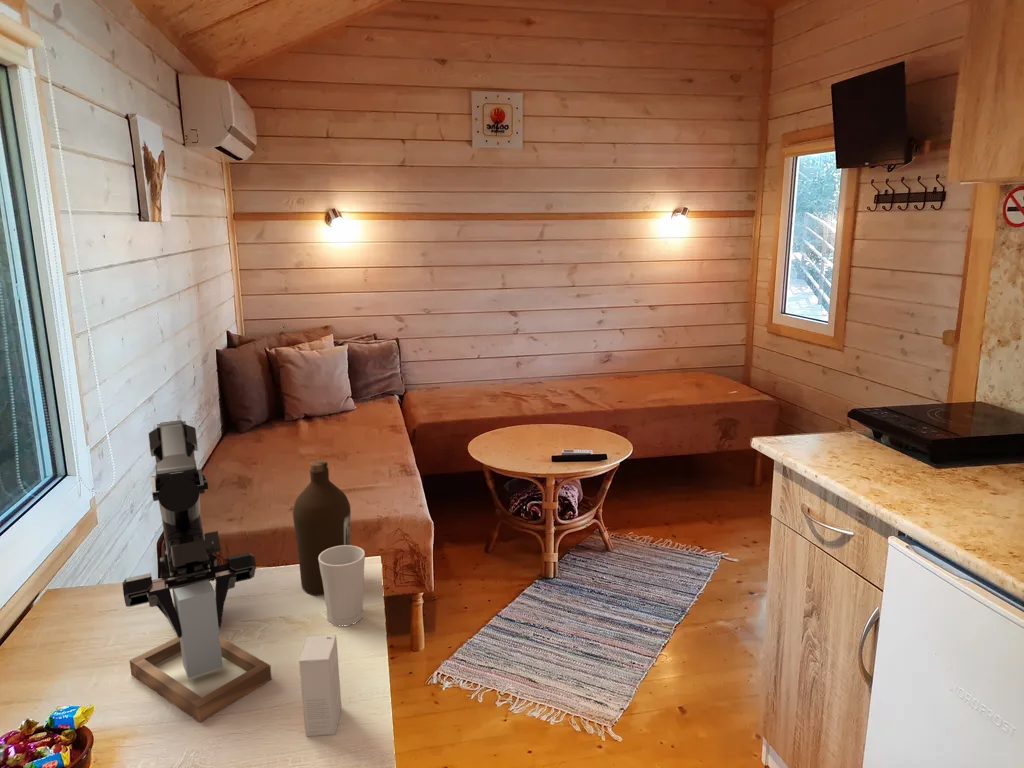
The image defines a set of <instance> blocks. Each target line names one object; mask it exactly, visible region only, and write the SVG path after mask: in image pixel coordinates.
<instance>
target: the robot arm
mask: <svg viewBox="0 0 1024 768" xmlns="http://www.w3.org/2000/svg"><path fill="white" fill-rule="evenodd" d="M148 442H149V452H150V455H151V457H155V475H152V476H151V493H152V500H153V502H157V501H158V505H159V509H160V510H159V511H160V515H161V521H162V528H163V529H162V530H163V536H164V539H163V544H162V547H163V556H162V557H159V564H160V572H161V573H160V574H161V578H155V579H153V578H152V572H149V573H145V574H144V573H143V574H140V575H135V576H134V575H133V576H131V577H130V576H129V577H126V578H125V579H124V580H123V581H122V594H123V600H124V603H125V607H129V608H130V607H135V606H140V605H143V604H147V603H148V604H149V607H150V608H153V607H157V608H158V609H159V611H160V612H161V613H162V614H163V615H164V617H165V618H166V620H167V621H168V623H169V625H170V626H171V628H172V630H173V631H174V633H175V635H176V637H178V638H181V630H180V624H179V621H178V618H177V612H176V604H175V596H174V589H176V588H180V587H184V586H187V585H191V584H195V583H199V582H202V581H206V580H209V581H210V582H215V586H214V591H215V599H216V608H217V617H218V626H219V629H221V627H222V622H223V621H222V620H223V615H224V614H223V613H224V607H225V606H224V605H225V602H226V598H227V595H228V592H229V590H230V589H234V588H235V587H236V583H238V582H244V581H248V580H251V579H253V578H254V577H255V573H256V569H257V563H256V559H255V556H254V554H253V553H252V552H250V551H248V552H242V553H238V554H233V555H228V556H227V557H226V563H225V564H220V565H219V564H218V563H217V562H218V561H217V554H214V553H218V552H221V549H222V548H221V543H220V542H221V541H220V537H219V531H218V530H217V531H215V530H214V531H211V532H204V526H203V525H204V524H203V521H202V515H201V495H202V494H205V493H206V492H205V490H209V485H208V484H209V483H208V479H207V475H206V474H205V473H204V471H203V469H202V468H201V469H200V468H199V469H198V468H197V461H196V458H195V452H197V451H199V448H198V437H197V428H196V427H193V426H192V425H188V424H187V423H186V420H184V421H183V420H182V419H181V420H174V421H172V420H171V421H170V420H169V421H163V422H160V423H156V428H155V429H153V430H152V431H150V432H148ZM171 590H172V594H171Z"/></svg>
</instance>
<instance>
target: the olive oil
mask: <svg viewBox="0 0 1024 768" xmlns="http://www.w3.org/2000/svg"><path fill="white" fill-rule="evenodd" d="M309 465H310V469H309V475H310V482H309V484H307V485H306V487H305V488H304V489H303V490H302V491H301V493H299V495H298V497H297V498H296V499H295V502H294V505H293V510H292V519H293V526H294V533H295V539H296V549H297V557H298V563H299V573H300V581H301V582H300V583H301V588H302V590H303V591H304V592H305V593H307V594H310V595H312V596H313V595H314V596H325V595H324V588H323V581H322V576H321V572H320V566H319V560H318V557H319V555H320V554H321V553H322V552H323V551H324V550H326V549H329V548H332V547H335V546H341V545H352V544H351V543H352V542H351V514H352V513H351V510H352V509H351V505H350V502H349V501H350V500H349V499H348V496H347V495H346V494H345V492H344V491H343V490H342V489H340V488H339V487H338V486H336V485H335V484H334V483H333V482H332V481H330V478H329V475H330V474H329V473H330V472H329V468H328V461H327V460H323V459H316V460H313V461H311V462H310V463H309Z"/></svg>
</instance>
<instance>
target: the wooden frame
mask: <svg viewBox="0 0 1024 768" xmlns="http://www.w3.org/2000/svg"><path fill="white" fill-rule="evenodd" d="M220 645H221V654H222V663H223V667H221V668H218V669H215V670H212V671H209V672H206V673H203V674H200V675H197V676H194V677H191V678H188V677H187V674H186V671H185V669H184V666H183V661H182V652H181V644H180V638H178V637H177V636H176V637H174V638H172V639H170V640H168V641H166V642H164V643H162V644H160V645H158V646H156V647H154V648H151V649H150V650H148V651H146V652H143V653H142V654H140V655H137V656H135V657H133V658H131V659H130V660H129V667H130V675H131V676H133V677H135V678H136V679H137V680H139V681H140V682H142V683H143V684H144V685H146V686H147V687H149V688H150V689H151V690H153V691H154V692H155V693H157V694H159V695H160V696H161V697H163V698H164V699H166V700H167V701H168V702H170V703H171V704H173V705H174V706H176V707H177V708H178V709H180V710H181V711H183V712H184V713H186V714H187V715H189V716H190V717H191V718H192V719H194V720H196V721H197V722H198V723H202V722H203V721H205V720H207V719H209V718H210V717H212V716H213V715H215V714H217V713H218V712H220V711H222V710H223V709H225V708H226V707H228V706H230V705H231V704H233V703H235V702H237V701H238V700H240V699H241V698H243V697H245V696H246V695H248V694H250V693H251V692H253V691H255V690H256V689H258V688H259V687H261V686H263V685H265V684H266V683H268V682H270V681H271V680H272V671H271V664H269V663H267V662H265V661H264V660H262V659H260V658H259V657H256V656H254V655H253V654H251V653H249V652H247V651H246V650H244V649H242V648H241V647H239V646H238V645H235V644H233V643H232V642H230V641H228V640H226V639H225V638H223V637H222V636H220Z"/></svg>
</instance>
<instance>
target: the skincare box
mask: <svg viewBox="0 0 1024 768" xmlns="http://www.w3.org/2000/svg"><path fill="white" fill-rule="evenodd" d="M338 655H339V654H338V640H337V635H336V634H334V635H333V634H332V635H331V634H330V635H311V636H310V635H309V636H307V637H306V639H305V642H304V645H303V648H302V651H301V654H300V658H299V660H298V661H299V675H300V685H301V686H300V687H301V688H300V689H301V699H302V711H303V720H304V722H303V723H304V730H305V731H304V733H305V734H304V735H305V736H306V737H315V736H317V737H320V736H331V735H332V736H333V735H336V732H337V728H338V723H339V719H340V714H341V710H342V696H341V684H340V683H341V682H340V681H341V680H340V670H339V669H340V668H339V656H338Z"/></svg>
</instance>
